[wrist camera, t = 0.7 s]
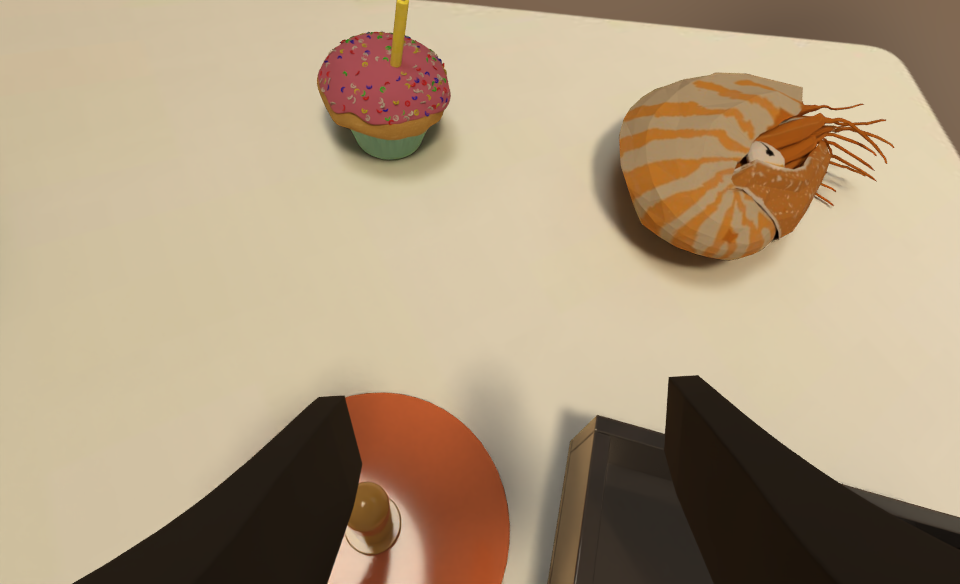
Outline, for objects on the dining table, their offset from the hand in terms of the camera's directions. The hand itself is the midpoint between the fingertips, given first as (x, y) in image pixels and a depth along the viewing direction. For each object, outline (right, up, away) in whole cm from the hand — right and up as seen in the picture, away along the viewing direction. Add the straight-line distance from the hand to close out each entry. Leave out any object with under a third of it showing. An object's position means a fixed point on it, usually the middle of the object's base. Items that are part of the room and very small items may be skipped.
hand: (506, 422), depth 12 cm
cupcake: (-7, +14, +27) cm, 31 cm away
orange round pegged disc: (-6, -9, +14) cm, 17 cm away
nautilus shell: (+18, +10, +28) cm, 35 cm away
